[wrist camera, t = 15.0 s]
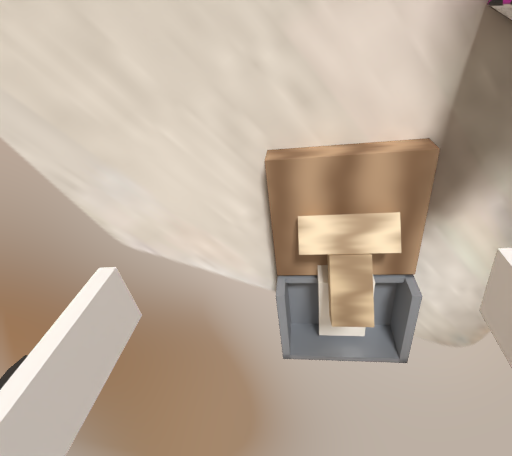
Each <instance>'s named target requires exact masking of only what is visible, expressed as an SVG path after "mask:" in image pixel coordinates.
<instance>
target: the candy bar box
mask: <svg viewBox="0 0 512 456" xmlns="http://www.w3.org/2000/svg"><path fill="white" fill-rule="evenodd" d="M487 5H488V6H490V7H492V8H493V9H495V10H496V11H498V12H500V13H502V14H503V15H505V16H506V17H508V18H509V19H511V20H512V0H489V1H488V3H487Z"/></svg>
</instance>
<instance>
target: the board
mask: <svg viewBox="0 0 512 456" xmlns="http://www.w3.org/2000/svg"><path fill="white" fill-rule="evenodd" d="M439 151H440V149H439V148H438V147H437V146H436V145H435V144H434V143H433V142H432V141H431V140H430V139H429V138H427V139H414V140H400V141H387V142H373V143H359V144H346V145H332V146H319V147H305V148H291V149H278V150H267V154H266V158H265V169H266V178H267V187H268V196H269V205H270V214H271V224H272V233H273V242H274V251H275V260H276V269H277V275H318V265H328V261H327V254H315V255H299V238H298V216H316V215H342V214H368V213H394V212H400V224H401V253H370V254H372V268H373V275H388V274H415V271H416V266H417V261H418V256H419V251H420V246H421V241H422V236H423V231H424V226H425V221H426V216H427V211H428V206H429V201H430V196H431V191H432V186H433V181H434V176H435V171H436V166H437V161H438V156H439Z"/></svg>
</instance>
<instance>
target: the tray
mask: <svg viewBox="0 0 512 456" xmlns="http://www.w3.org/2000/svg"><path fill="white" fill-rule="evenodd" d="M373 276H374V280H375V288H374V297H373V299H374V327H365V336H330V335H319V323H318V275H278V278H277V289H276V301H277V310H278V318H279V326H280V335H281V344H282V352H283V358H284V359H309V360H338V361H366V362H395V363H407V361H408V357H409V352H410V348H411V344H412V339H413V335H414V330H415V326H416V322H417V317H418V313H419V308H420V304H421V300H422V294H421V292H420V290H419V287H418V285H417V283H416V280H415V278H414V276H413V274H388V275H373Z"/></svg>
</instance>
